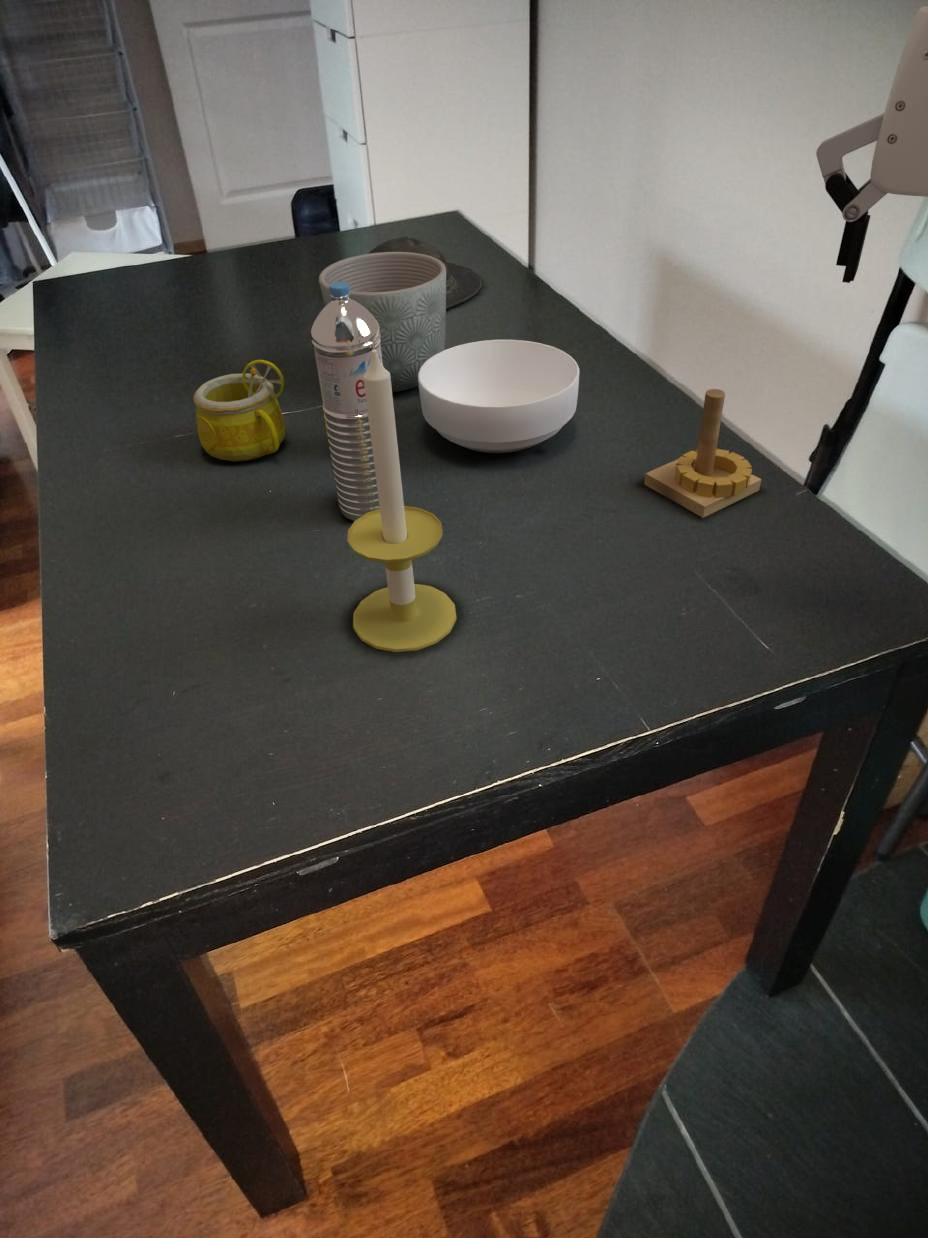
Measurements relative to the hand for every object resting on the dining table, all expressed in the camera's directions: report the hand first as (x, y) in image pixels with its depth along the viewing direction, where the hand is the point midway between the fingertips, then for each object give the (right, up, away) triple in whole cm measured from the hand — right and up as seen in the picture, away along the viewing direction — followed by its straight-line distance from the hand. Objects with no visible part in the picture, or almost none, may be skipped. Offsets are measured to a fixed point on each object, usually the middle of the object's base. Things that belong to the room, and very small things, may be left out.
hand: (922, 283), depth 60 cm
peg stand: (-5, -8, +38) cm, 39 cm away
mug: (-59, -2, +50) cm, 77 cm away
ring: (-4, -8, +36) cm, 37 cm away
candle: (-38, -23, +22) cm, 50 cm away
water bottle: (-43, -11, +38) cm, 58 cm away
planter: (-42, +11, +64) cm, 77 cm away
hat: (-42, +35, +93) cm, 108 cm away
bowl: (-27, 0, +50) cm, 57 cm away
